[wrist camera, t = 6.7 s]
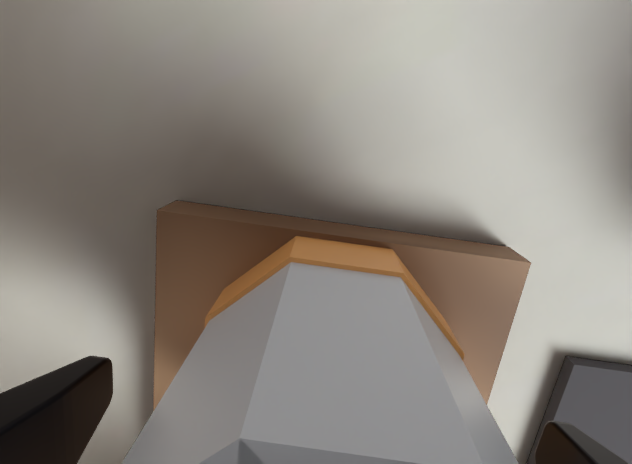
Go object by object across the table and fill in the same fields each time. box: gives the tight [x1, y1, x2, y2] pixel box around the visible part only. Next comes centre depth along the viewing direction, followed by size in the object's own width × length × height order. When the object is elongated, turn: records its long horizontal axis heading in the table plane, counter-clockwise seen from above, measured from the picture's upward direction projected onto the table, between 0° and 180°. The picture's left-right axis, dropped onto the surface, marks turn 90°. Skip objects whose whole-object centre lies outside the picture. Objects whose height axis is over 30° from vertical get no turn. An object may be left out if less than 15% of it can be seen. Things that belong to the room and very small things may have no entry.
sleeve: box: [121, 236, 519, 464], centre depth 7 cm, size 6×6×6 cm
